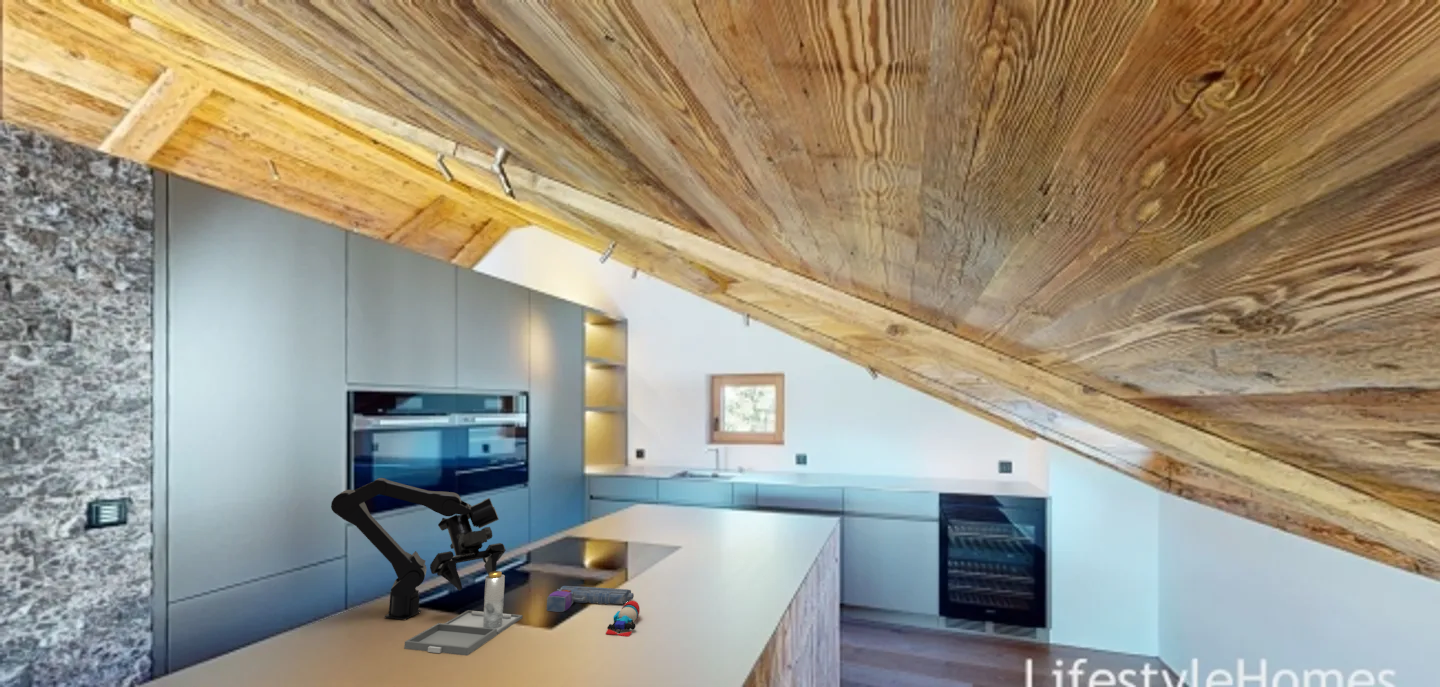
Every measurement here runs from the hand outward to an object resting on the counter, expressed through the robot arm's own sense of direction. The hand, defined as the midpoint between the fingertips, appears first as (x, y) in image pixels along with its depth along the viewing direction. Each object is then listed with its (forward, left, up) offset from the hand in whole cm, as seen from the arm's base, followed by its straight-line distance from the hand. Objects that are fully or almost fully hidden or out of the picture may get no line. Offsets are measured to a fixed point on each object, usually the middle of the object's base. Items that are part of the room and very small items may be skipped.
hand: (477, 585), depth 157 cm
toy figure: (+39, +7, -10) cm, 41 cm away
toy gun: (+23, +20, -10) cm, 32 cm away
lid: (+4, -3, -9) cm, 10 cm away
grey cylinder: (+7, -4, -8) cm, 12 cm away
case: (+4, -15, -9) cm, 18 cm away
